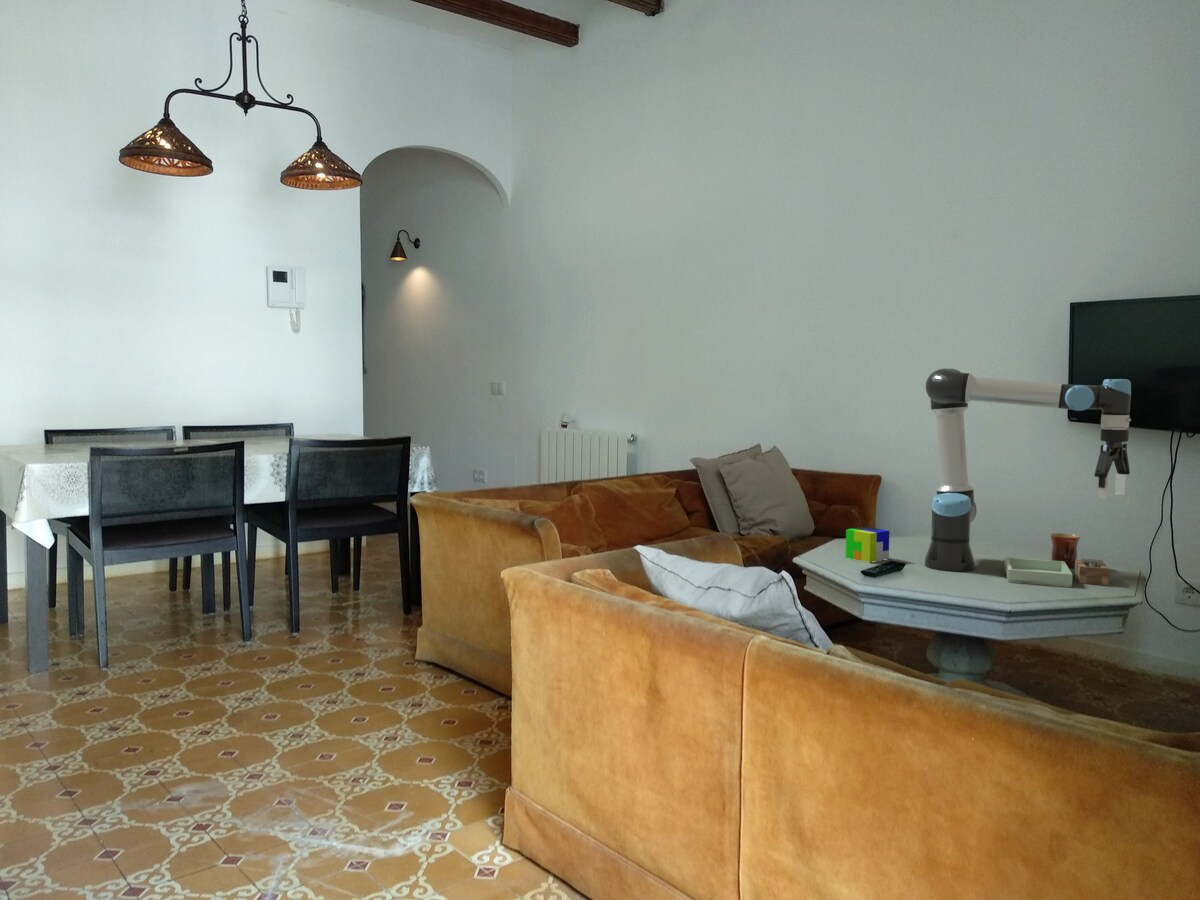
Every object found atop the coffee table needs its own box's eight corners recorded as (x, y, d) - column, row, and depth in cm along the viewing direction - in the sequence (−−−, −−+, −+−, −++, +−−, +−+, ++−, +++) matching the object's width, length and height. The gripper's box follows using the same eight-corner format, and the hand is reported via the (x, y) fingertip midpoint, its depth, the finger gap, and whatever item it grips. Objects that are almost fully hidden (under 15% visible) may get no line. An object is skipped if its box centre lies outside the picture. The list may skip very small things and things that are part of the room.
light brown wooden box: (1108, 585, 257) (1109, 568, 256) (1079, 583, 260) (1080, 566, 259) (1102, 577, 267) (1103, 561, 267) (1074, 575, 270) (1075, 559, 269)
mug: (1045, 563, 289) (1046, 532, 288) (1073, 564, 287) (1075, 533, 286) (1056, 570, 277) (1057, 539, 276) (1086, 571, 275) (1087, 539, 274)
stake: (1081, 580, 263) (1082, 558, 263) (1080, 578, 265) (1081, 557, 265) (1101, 581, 261) (1102, 560, 261) (1100, 580, 263) (1101, 558, 263)
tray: (1008, 582, 261) (1008, 569, 261) (1004, 568, 279) (1004, 557, 279) (1071, 587, 255) (1072, 574, 254) (1063, 573, 273) (1064, 561, 273)
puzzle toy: (888, 559, 294) (889, 530, 293) (869, 563, 288) (870, 533, 288) (864, 555, 302) (865, 526, 301) (845, 558, 297) (846, 529, 296)
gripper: (1111, 430, 258) (1107, 501, 260) (1143, 428, 274) (1139, 494, 276) (1084, 429, 264) (1081, 498, 266) (1117, 426, 280) (1114, 492, 282)
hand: (1111, 496), depth 271 cm, fingers open, 13 cm apart
